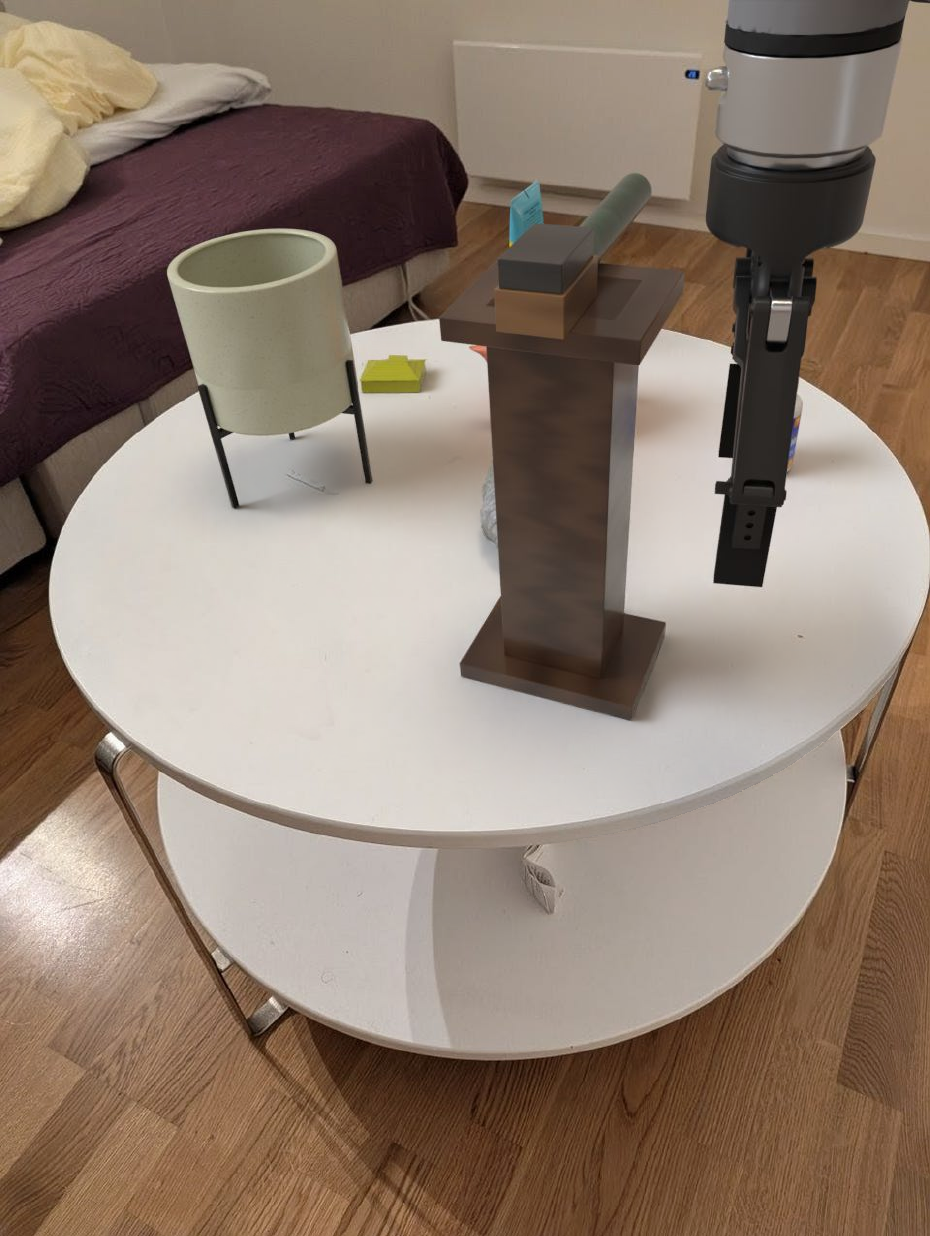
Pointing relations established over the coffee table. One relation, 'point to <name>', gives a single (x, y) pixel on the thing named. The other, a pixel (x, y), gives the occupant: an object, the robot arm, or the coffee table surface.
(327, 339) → the planter
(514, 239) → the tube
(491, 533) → the seashell
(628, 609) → the coffee table surface
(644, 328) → the stand
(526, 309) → the brush
